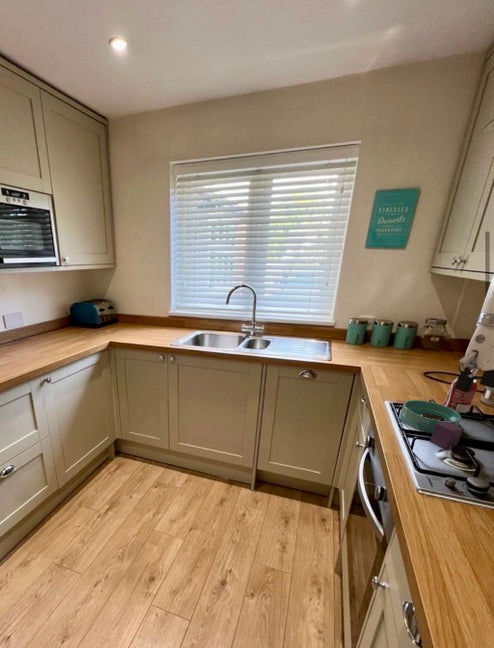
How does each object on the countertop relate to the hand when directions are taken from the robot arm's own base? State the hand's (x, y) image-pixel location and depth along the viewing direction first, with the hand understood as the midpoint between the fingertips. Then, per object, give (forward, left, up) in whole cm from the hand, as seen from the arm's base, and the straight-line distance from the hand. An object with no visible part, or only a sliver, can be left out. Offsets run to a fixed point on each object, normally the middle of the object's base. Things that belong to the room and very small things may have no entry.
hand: (474, 388), depth 84 cm
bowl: (-2, -17, -20) cm, 26 cm away
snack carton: (0, -4, -20) cm, 20 cm away
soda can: (-17, -29, -20) cm, 39 cm away
